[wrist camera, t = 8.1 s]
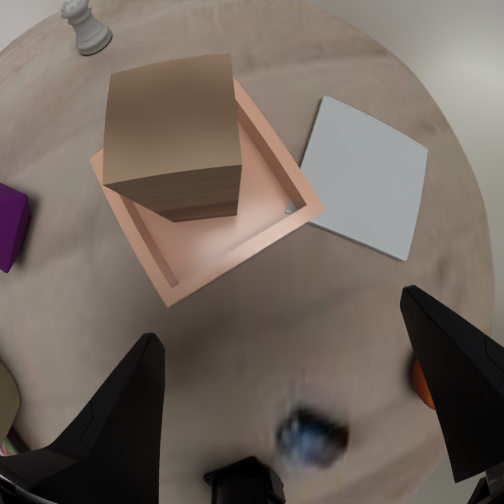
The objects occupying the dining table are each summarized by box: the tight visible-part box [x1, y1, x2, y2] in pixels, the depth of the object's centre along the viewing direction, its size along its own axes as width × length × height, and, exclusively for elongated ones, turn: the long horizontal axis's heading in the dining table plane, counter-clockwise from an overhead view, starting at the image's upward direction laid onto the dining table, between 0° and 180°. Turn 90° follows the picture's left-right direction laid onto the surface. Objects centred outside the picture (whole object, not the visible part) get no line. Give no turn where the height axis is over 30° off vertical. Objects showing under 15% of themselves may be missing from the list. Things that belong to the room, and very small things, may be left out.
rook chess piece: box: [61, 0, 112, 55], centre depth 18 cm, size 4×4×8 cm
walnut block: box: [103, 53, 242, 223], centre depth 15 cm, size 5×5×13 cm
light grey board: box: [285, 95, 428, 262], centre depth 23 cm, size 12×12×1 cm
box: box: [89, 77, 325, 308], centre depth 21 cm, size 13×13×4 cm
